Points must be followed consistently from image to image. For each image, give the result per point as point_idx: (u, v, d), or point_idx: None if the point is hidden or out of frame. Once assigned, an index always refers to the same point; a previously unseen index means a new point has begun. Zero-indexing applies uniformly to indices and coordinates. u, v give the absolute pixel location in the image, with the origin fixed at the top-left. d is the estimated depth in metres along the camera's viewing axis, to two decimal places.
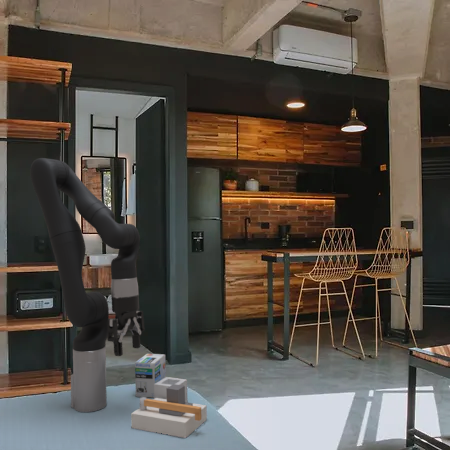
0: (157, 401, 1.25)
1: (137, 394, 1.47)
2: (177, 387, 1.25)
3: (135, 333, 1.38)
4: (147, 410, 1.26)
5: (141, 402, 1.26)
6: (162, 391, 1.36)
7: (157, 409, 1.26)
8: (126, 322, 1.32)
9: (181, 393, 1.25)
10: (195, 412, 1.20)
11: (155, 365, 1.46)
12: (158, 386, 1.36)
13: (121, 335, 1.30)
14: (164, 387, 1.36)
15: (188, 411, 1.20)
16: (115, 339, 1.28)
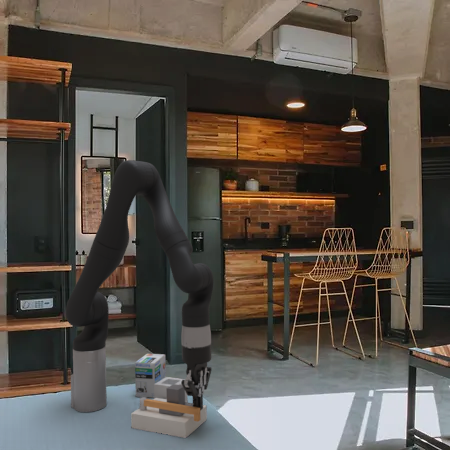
0: (157, 401, 1.25)
1: (137, 394, 1.47)
2: (177, 387, 1.25)
3: None
4: (147, 410, 1.26)
5: (141, 402, 1.26)
6: (162, 391, 1.36)
7: (157, 409, 1.26)
8: (199, 376, 1.19)
9: (181, 393, 1.25)
10: (194, 413, 1.19)
11: (155, 365, 1.46)
12: (158, 386, 1.36)
13: (199, 390, 1.20)
14: (164, 387, 1.36)
15: (187, 412, 1.20)
16: (196, 394, 1.19)
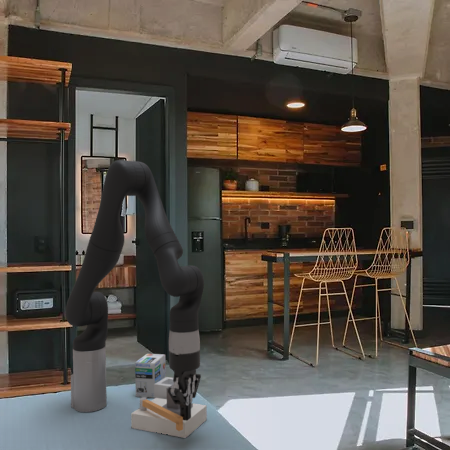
0: (152, 403, 1.23)
1: (137, 394, 1.47)
2: None
3: None
4: (147, 410, 1.26)
5: (140, 402, 1.26)
6: (162, 391, 1.36)
7: None
8: (187, 384, 1.14)
9: None
10: (176, 421, 1.14)
11: (155, 365, 1.46)
12: (158, 386, 1.36)
13: (187, 398, 1.15)
14: (164, 387, 1.36)
15: (171, 419, 1.16)
16: (183, 403, 1.13)
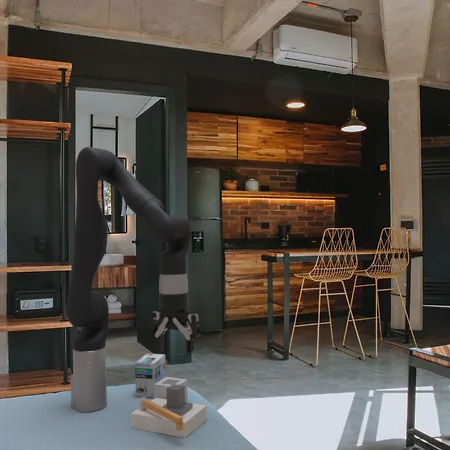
0: (152, 403, 1.23)
1: (137, 394, 1.47)
2: (177, 387, 1.25)
3: None
4: (147, 410, 1.26)
5: (140, 402, 1.26)
6: (162, 391, 1.36)
7: None
8: None
9: (181, 393, 1.25)
10: (176, 421, 1.14)
11: (155, 365, 1.46)
12: (158, 386, 1.36)
13: (158, 331, 1.26)
14: (164, 387, 1.36)
15: (171, 419, 1.16)
16: (150, 332, 1.27)
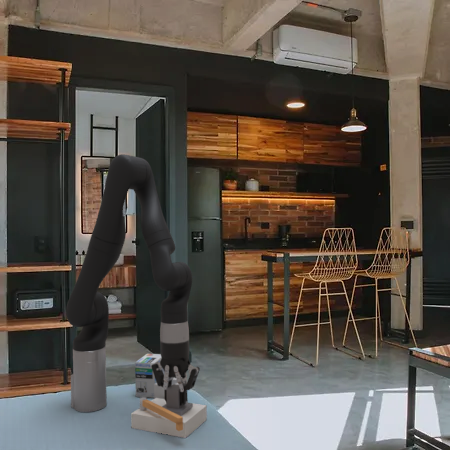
0: (152, 403, 1.23)
1: (137, 394, 1.47)
2: (177, 387, 1.25)
3: None
4: (147, 410, 1.26)
5: (140, 402, 1.26)
6: (162, 391, 1.36)
7: None
8: None
9: None
10: (176, 421, 1.14)
11: None
12: (158, 386, 1.36)
13: (165, 382, 1.25)
14: None
15: (171, 419, 1.16)
16: (158, 383, 1.26)
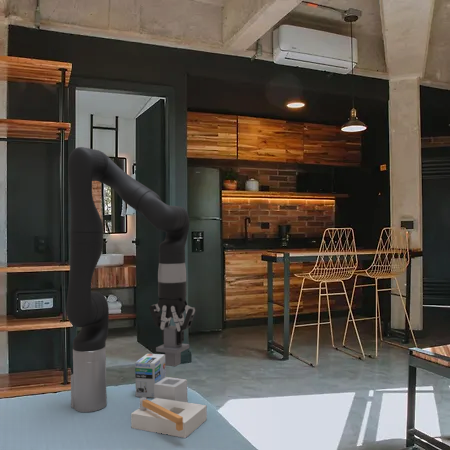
0: (152, 403, 1.23)
1: (137, 394, 1.47)
2: (174, 327, 1.28)
3: None
4: (147, 410, 1.26)
5: (140, 402, 1.26)
6: (162, 391, 1.36)
7: None
8: None
9: None
10: (176, 421, 1.14)
11: (155, 365, 1.46)
12: (158, 386, 1.36)
13: (162, 322, 1.28)
14: (164, 387, 1.36)
15: (171, 419, 1.16)
16: (155, 324, 1.29)
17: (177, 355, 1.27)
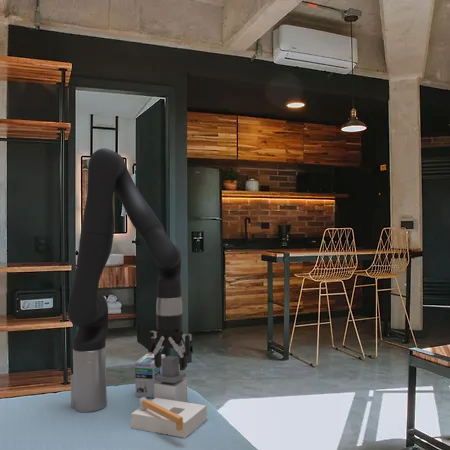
0: (152, 403, 1.23)
1: (137, 394, 1.47)
2: (171, 357, 1.39)
3: None
4: (147, 410, 1.26)
5: (140, 402, 1.26)
6: (162, 391, 1.36)
7: None
8: None
9: (175, 363, 1.38)
10: (176, 421, 1.14)
11: (155, 365, 1.46)
12: (158, 386, 1.36)
13: (156, 349, 1.39)
14: (164, 387, 1.36)
15: (171, 419, 1.16)
16: (148, 349, 1.40)
17: (175, 383, 1.38)
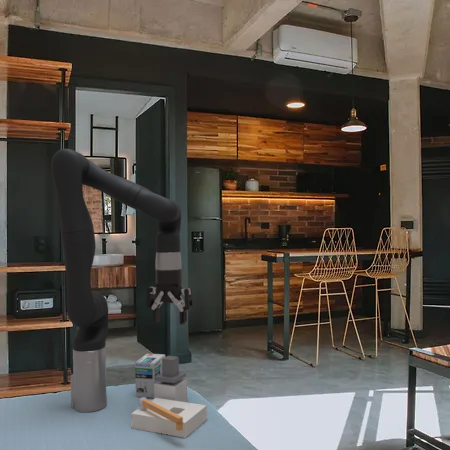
0: (152, 403, 1.23)
1: (137, 394, 1.47)
2: (171, 357, 1.39)
3: None
4: (147, 410, 1.26)
5: (140, 402, 1.26)
6: (162, 391, 1.36)
7: None
8: None
9: (175, 363, 1.38)
10: (176, 421, 1.14)
11: (155, 365, 1.46)
12: (158, 386, 1.36)
13: (155, 304, 1.39)
14: (164, 387, 1.36)
15: (171, 419, 1.16)
16: (147, 305, 1.41)
17: (175, 383, 1.38)
